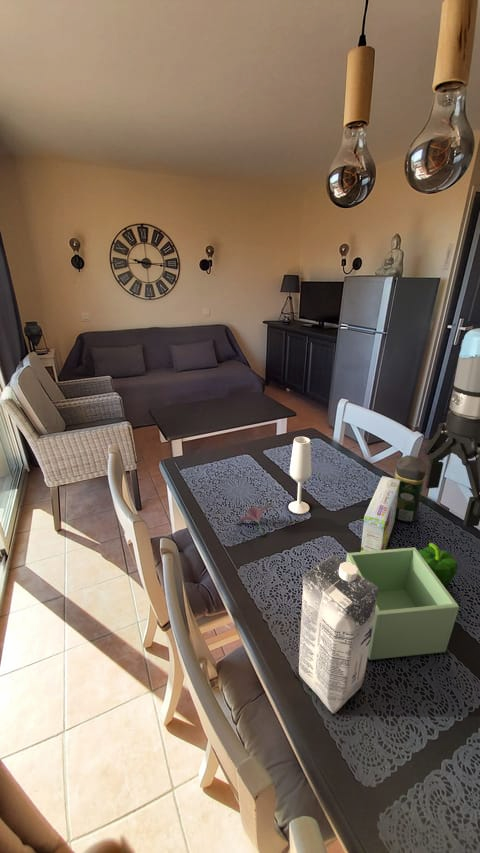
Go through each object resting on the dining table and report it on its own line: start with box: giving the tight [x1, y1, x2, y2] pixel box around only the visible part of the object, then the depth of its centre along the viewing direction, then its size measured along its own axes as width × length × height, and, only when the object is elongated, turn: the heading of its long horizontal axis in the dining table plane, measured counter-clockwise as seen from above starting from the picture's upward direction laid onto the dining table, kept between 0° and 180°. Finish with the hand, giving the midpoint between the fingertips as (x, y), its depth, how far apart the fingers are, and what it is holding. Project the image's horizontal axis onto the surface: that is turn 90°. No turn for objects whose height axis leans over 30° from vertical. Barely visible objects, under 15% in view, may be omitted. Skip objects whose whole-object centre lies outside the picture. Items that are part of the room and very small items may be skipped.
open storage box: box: [345, 546, 460, 661], centre depth 76 cm, size 16×16×13 cm
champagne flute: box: [288, 436, 313, 515], centre depth 111 cm, size 7×7×24 cm
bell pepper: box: [418, 542, 459, 588], centre depth 85 cm, size 8×8×10 cm
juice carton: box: [298, 554, 378, 715], centre depth 62 cm, size 9×10×27 cm
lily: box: [236, 503, 274, 536], centre depth 106 cm, size 12×12×10 cm
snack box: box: [360, 475, 400, 552], centre depth 98 cm, size 21×6×15 cm, turn 149°
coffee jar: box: [394, 454, 427, 523], centre depth 108 cm, size 10×8×19 cm
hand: (449, 504), depth 77 cm, fingers open, 13 cm apart
